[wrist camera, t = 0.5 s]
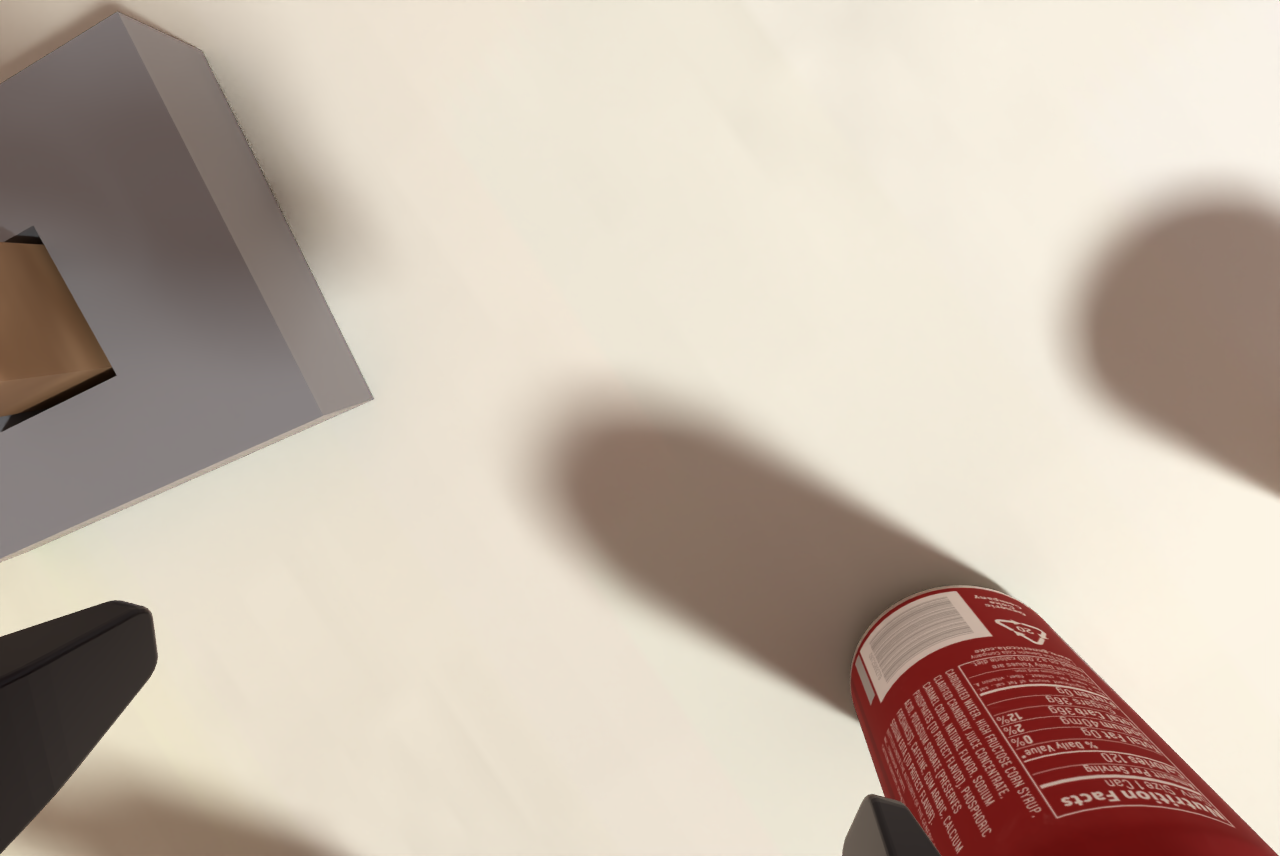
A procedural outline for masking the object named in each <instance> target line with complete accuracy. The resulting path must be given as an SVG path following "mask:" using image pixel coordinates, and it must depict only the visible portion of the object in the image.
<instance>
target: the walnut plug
mask: <svg viewBox="0 0 1280 856" xmlns="http://www.w3.org/2000/svg"><path fill="white" fill-rule="evenodd" d="M115 376H117V375H116V373H115V371H114V369H113V368H112V366H111V364H110V362H109V360H108V359H107V357H106V355H105V353H104V351H103V350H102V348H101V346H100V344H99V342H98V341H97V339H96V337H95V335H94V333H93V332H92V330H91V328H90V326H89V324H88V323H87V321H86V319H85V317H84V316H83V314H82V312H81V310H80V308H79V307H78V305H77V303H76V301H75V299H74V298H73V296H72V294H71V292H70V290H69V289H68V287H67V285H66V283H65V281H64V280H63V278H62V276H61V274H60V272H59V271H58V269H57V267H56V265H55V263H54V262H53V260H52V258H51V256H50V254H49V253H48V251H47V249H46V247H45V245H40V244H24V243H9V242H0V417H2V416H8V415H13V414H19V413H24V412H30V411H35V410H41V409H46V408H52V407H54V406H56V405H58V404H60V403H62V402H64V401H66V400H68V399H70V398H72V397H74V396H76V395H78V394H80V393H82V392H84V391H86V390H88V389H90V388H93V387H95V386H97V385H99V384H101V383H103V382H105V381H107V380H109V379H111V378H113V377H115Z"/></svg>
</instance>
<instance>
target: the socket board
mask: <svg viewBox="0 0 1280 856" xmlns="http://www.w3.org/2000/svg"><path fill="white" fill-rule="evenodd" d="M0 242H9V243H24V244H40V245H45V247H46V249H47V251H48V253H49V254H50V256H51V258H52V260H53V262H54V263H55V265H56V267H57V269H58V271H59V272H60V274H61V276H62V278H63V280H64V281H65V283H66V285H67V287H68V289H69V290H70V292H71V294H72V296H73V298H74V299H75V301H76V303H77V305H78V307H79V308H80V310H81V312H82V314H83V316H84V317H85V319H86V321H87V323H88V324H89V326H90V328H91V330H92V332H93V333H94V335H95V337H96V339H97V341H98V342H99V344H100V346H101V348H102V350H103V351H104V353H105V355H106V357H107V359H108V360H109V362H110V364H111V366H112V368H113V369H114V371H115V373H116V375H117V376H115V377H113V378H111V379H109V380H107V381H105V382H103V383H101V384H99V385H97V386H95V387H93V388H90V389H88V390H86V391H84V392H82V393H80V394H78V395H76V396H74V397H72V398H70V399H68V400H66V401H64V402H62V403H60V404H58V405H56V406H54V407H52V408H46V409H41V410H35V411H30V412H24V413H19V414H13V415H8V416H2V417H0V562H2V561H5V560H8V559H10V558H13V557H15V556H18V555H21V554H23V553H26V552H28V551H30V550H33V549H35V548H37V547H39V546H42V545H44V544H46V543H49V542H51V541H53V540H55V539H58V538H60V537H62V536H64V535H67V534H69V533H71V532H74V531H76V530H78V529H80V528H83V527H85V526H87V525H89V524H92V523H94V522H96V521H98V520H101V519H103V518H105V517H108V516H110V515H112V514H114V513H117V512H119V511H121V510H123V509H126V508H128V507H130V506H133V505H135V504H137V503H139V502H142V501H144V500H146V499H148V498H151V497H153V496H155V495H158V494H160V493H162V492H164V491H167V490H169V489H171V488H173V487H176V486H178V485H180V484H182V483H185V482H187V481H189V480H192V479H194V478H196V477H198V476H201V475H203V474H205V473H207V472H210V471H212V470H214V469H217V468H219V467H221V466H223V465H226V464H228V463H230V462H232V461H235V460H237V459H239V458H242V457H244V456H246V455H248V454H251V453H253V452H255V451H257V450H260V449H262V448H264V447H266V446H269V445H271V444H273V443H276V442H278V441H280V440H282V439H285V438H287V437H289V436H291V435H294V434H296V433H298V432H301V431H303V430H305V429H307V428H310V427H312V426H314V425H316V424H319V423H321V422H323V421H325V420H328V419H330V418H332V417H335V416H337V415H339V414H341V413H344V412H346V411H348V410H350V409H353V408H355V407H357V406H360V405H362V404H364V403H366V402H369V401H371V400H373V399H374V398H373V396H372V394H371V392H370V390H369V388H368V386H367V384H366V382H365V380H364V378H363V376H362V374H361V372H360V370H359V368H358V366H357V364H356V362H355V359H354V357H353V355H352V353H351V351H350V349H349V347H348V345H347V343H346V341H345V339H344V337H343V335H342V333H341V331H340V329H339V327H338V325H337V323H336V321H335V319H334V317H333V315H332V313H331V311H330V309H329V307H328V305H327V303H326V301H325V299H324V297H323V295H322V293H321V291H320V289H319V287H318V285H317V283H316V281H315V279H314V277H313V275H312V273H311V270H310V268H309V266H308V264H307V262H306V260H305V258H304V256H303V254H302V252H301V250H300V248H299V246H298V244H297V242H296V240H295V238H294V236H293V234H292V232H291V230H290V228H289V226H288V224H287V222H286V220H285V218H284V216H283V214H282V212H281V210H280V208H279V206H278V204H277V202H276V200H275V198H274V196H273V194H272V192H271V190H270V188H269V186H268V184H267V181H266V179H265V177H264V175H263V173H262V171H261V169H260V167H259V165H258V163H257V161H256V159H255V157H254V155H253V153H252V151H251V149H250V147H249V145H248V143H247V141H246V139H245V137H244V135H243V133H242V131H241V129H240V127H239V125H238V123H237V121H236V119H235V117H234V115H233V113H232V111H231V109H230V107H229V105H228V103H227V101H226V99H225V97H224V94H223V92H222V90H221V88H220V86H219V84H218V82H217V80H216V78H215V76H214V74H213V72H212V70H211V68H210V66H209V64H208V62H207V60H206V58H205V56H204V54H203V52H202V50H199V49H197V48H195V47H193V46H191V45H189V44H186V43H184V42H182V41H180V40H178V39H176V38H174V37H171V36H169V35H167V34H165V33H163V32H161V31H158V30H156V29H154V28H152V27H150V26H148V25H146V24H143V23H141V22H139V21H137V20H135V19H133V18H130V17H128V16H126V15H124V14H122V13H120V12H118V11H117V12H116V13H114V14H112V15H111V16H109V17H107V18H106V19H104V20H103V21H101V22H99V23H98V24H96V25H95V26H93V27H91V28H90V29H88V30H86V31H85V32H83V33H82V34H80V35H78V36H77V37H75V38H74V39H72V40H70V41H69V42H67V43H65V44H64V45H62V46H61V47H59V48H57V49H56V50H54V51H53V52H51V53H49V54H48V55H46V56H44V57H43V58H41V59H40V60H38V61H36V62H35V63H33V64H32V65H30V66H28V67H27V68H25V69H24V70H22V71H20V72H19V73H17V74H15V75H14V76H12V77H11V78H9V79H7V80H6V81H4V82H3V83H1V84H0Z"/></svg>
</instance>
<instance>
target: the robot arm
mask: <svg viewBox="0 0 1280 856" xmlns="http://www.w3.org/2000/svg"><path fill="white" fill-rule="evenodd" d="M157 660H158V653H157V645H156V638H155V630H154V623H153V616H152V613H151V612H150V611H149V609H148V608H146V607H144V606H140V605H136V604H132V603H128V602H125V601H117V600H114V601H109V602H105V603H102V604H99V605H96V606H93V607H90V608H87V609H84V610H81V611H78V612H75V613H72V614H69V615H66V616H63V617H59V618H56V619H53V620H50V621H47V622H44V623H41V624H38V625H35V626H32V627H29V628H26V629H23V630H20V631H17V632H14V633H11V634H8V635H5V636H2V637H0V854H1V853H2V852H3V851H4V850H5V849H6V848H7V847H8V845H9V844H10V843H11V842H12V841H13V840H14V839H15V838H16V837H17V836H18V835H19V834H20V833H21V832H22V831H23V829H24V828H25V827H26V826H27V825H28V824H29V823H30V822H31V821H32V820H33V819H34V818H35V817H36V816H37V815H38V813H39V812H40V811H41V810H42V809H43V808H44V807H45V806H46V805H47V804H48V802H49V801H50V800H51V799H52V798H53V797H54V796H55V795H56V794H57V792H58V791H59V790H60V789H61V788H62V786H63V785H64V784H65V783H66V782H67V780H68V779H69V778H70V777H71V776H72V774H73V773H74V772H75V771H76V770H77V768H78V767H79V766H80V765H81V763H82V762H83V761H84V760H85V758H86V757H87V756H88V755H89V753H90V752H91V751H92V750H93V748H94V747H95V746H96V745H97V743H98V742H99V741H100V740H101V738H102V737H103V736H104V735H105V733H106V732H107V731H108V730H109V728H110V727H111V726H112V725H113V723H114V722H115V721H116V720H117V718H118V717H119V716H120V715H121V713H122V712H123V711H124V710H125V708H126V707H127V706H128V705H129V703H130V702H131V701H132V700H133V698H134V697H135V696H136V695H137V693H138V692H139V691H140V690H141V688H142V687H143V686H144V685H145V683H146V682H147V681H148V679H149V678H150V677H151V675H152V673H153V671H154V670H155V667H156V664H157ZM842 856H941V854H940V853H939V851H938V850H937V848H936V847H935V846H934V844H933V843H932V841H931V840H930V838H929V837H928V836H927V834H926V833H925V831H924V830H923V828H922V827H921V826H920V824H919V823H918V821H917V820H916V818H915V817H914V816H913V814H912V813H911V811H910V810H909V809H908V807H906V806H905V805H904V804H903V803H902V802H900V801H897V800H894V799H890V798H886V797H882V796H878V795H874V794H870V795H867V796H866V797H865V798H864V800H863V801H862V803H861V805H860V807H859V810H858V812H857V814H856V816H855V818H854V821H853V823H852V825H851V827H850V829H849V831H848V834H847V836H846V838H845V842H844V846H843V854H842Z"/></svg>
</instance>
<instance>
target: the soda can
mask: <svg viewBox="0 0 1280 856" xmlns="http://www.w3.org/2000/svg"><path fill="white" fill-rule="evenodd" d="M850 690H851V696H852V700H853V704H854V707H855V710H856V713H857V716H858V719H859V722H860V725H861V728H862V731H863V734H864V737H865V740H866V743H867V746H868V749H869V752H870V754H871V757H872V760H873V763H874V766H875V769H876V772H877V775H878V778H879V781H880V784H881V787H882V790H883V793H884V796H885V797H886V798H890V799H894V800H897V801H900V802H902V803H903V804H904V805H905V806H906V807H908V809H909V810H910V811H911V813H912V814H913V816H914V817H915V818H916V820H917V821H918V823H919V824H920V826H921V827H922V828H923V830H924V831H925V833H926V834H927V836H928V837H929V838H930V840H931V841H932V843H933V844H934V846H935V847H936V848H937V850H938V851H939V853H940V854H941V856H1278V855H1277V854H1276V853H1275V852H1274V851H1273V850H1272V849H1271V848H1270V847H1269V846H1268V845H1267V844H1266V843H1265V842H1264V841H1263V840H1262V838H1261V837H1260V836H1259V835H1258V834H1257V833H1256V832H1255V831H1254V830H1253V829H1252V828H1251V827H1250V826H1249V825H1248V824H1247V823H1246V822H1245V821H1244V820H1243V819H1242V818H1241V817H1240V816H1239V815H1238V814H1237V813H1236V812H1235V811H1234V810H1233V809H1232V808H1231V807H1230V806H1229V805H1228V804H1227V803H1226V802H1225V801H1224V800H1223V799H1222V798H1221V797H1220V796H1219V795H1218V794H1217V793H1216V792H1215V791H1214V790H1213V789H1212V788H1211V787H1210V786H1209V785H1208V784H1207V783H1206V782H1205V781H1204V780H1203V779H1202V778H1201V777H1200V776H1199V775H1198V774H1197V773H1196V772H1195V771H1194V770H1193V769H1192V768H1191V767H1190V766H1189V765H1188V764H1187V763H1186V762H1185V761H1184V760H1183V759H1182V758H1181V757H1180V756H1179V755H1178V754H1177V753H1176V752H1175V751H1174V750H1173V749H1172V748H1171V747H1170V746H1169V745H1168V744H1167V743H1166V742H1165V741H1164V740H1163V739H1162V738H1161V737H1160V736H1159V735H1158V734H1157V733H1156V732H1155V731H1154V730H1153V729H1152V728H1151V727H1150V726H1149V725H1148V724H1147V723H1146V722H1145V721H1144V720H1143V719H1142V718H1141V717H1140V716H1139V715H1138V714H1137V713H1136V712H1135V711H1134V710H1133V709H1132V708H1131V707H1130V706H1129V705H1128V704H1127V703H1126V702H1125V701H1124V700H1123V699H1122V698H1121V697H1120V696H1119V695H1118V694H1117V693H1116V692H1115V691H1114V690H1113V689H1112V688H1111V687H1110V686H1109V685H1108V684H1107V683H1106V682H1105V681H1104V680H1103V679H1102V678H1101V677H1100V676H1099V675H1098V674H1097V673H1096V672H1095V671H1094V670H1093V669H1092V668H1091V667H1090V666H1089V665H1088V664H1087V663H1086V662H1085V661H1084V660H1083V659H1082V658H1081V657H1080V656H1079V655H1078V654H1077V653H1076V652H1075V651H1074V650H1073V649H1072V648H1071V647H1070V646H1069V645H1068V644H1067V643H1066V642H1065V641H1064V640H1063V639H1062V638H1061V637H1060V636H1059V635H1058V634H1057V633H1056V632H1055V631H1054V630H1053V629H1052V628H1051V627H1050V626H1049V625H1048V624H1047V623H1046V622H1045V621H1044V620H1043V619H1042V618H1041V617H1040V616H1039V615H1038V614H1037V613H1036V612H1035V611H1033V610H1032V609H1031V608H1030V607H1028V606H1027V605H1025V604H1024V603H1022V602H1021V601H1019V600H1017V599H1015V598H1013V597H1011V596H1009V595H1007V594H1004V593H1002V592H999V591H996V590H992V589H988V588H984V587H978V586H970V585H951V586H942V587H936V588H931V589H927V590H924V591H921V592H918V593H915V594H913V595H910V596H908V597H906V598H904V599H902V600H900V601H898V602H897V603H895V604H894V605H892V606H891V607H889V608H888V609H886V610H885V611H884V612H883V613H881V614H880V615H879V616H878V617H877V618H876V619H875V620H874V621H873V622H872V624H871V625H870V626H869V627H868V628H867V630H866V631H865V633H864V634H863V636H862V638H861V639H860V641H859V643H858V645H857V648H856V650H855V652H854V656H853V659H852V664H851V670H850Z"/></svg>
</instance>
